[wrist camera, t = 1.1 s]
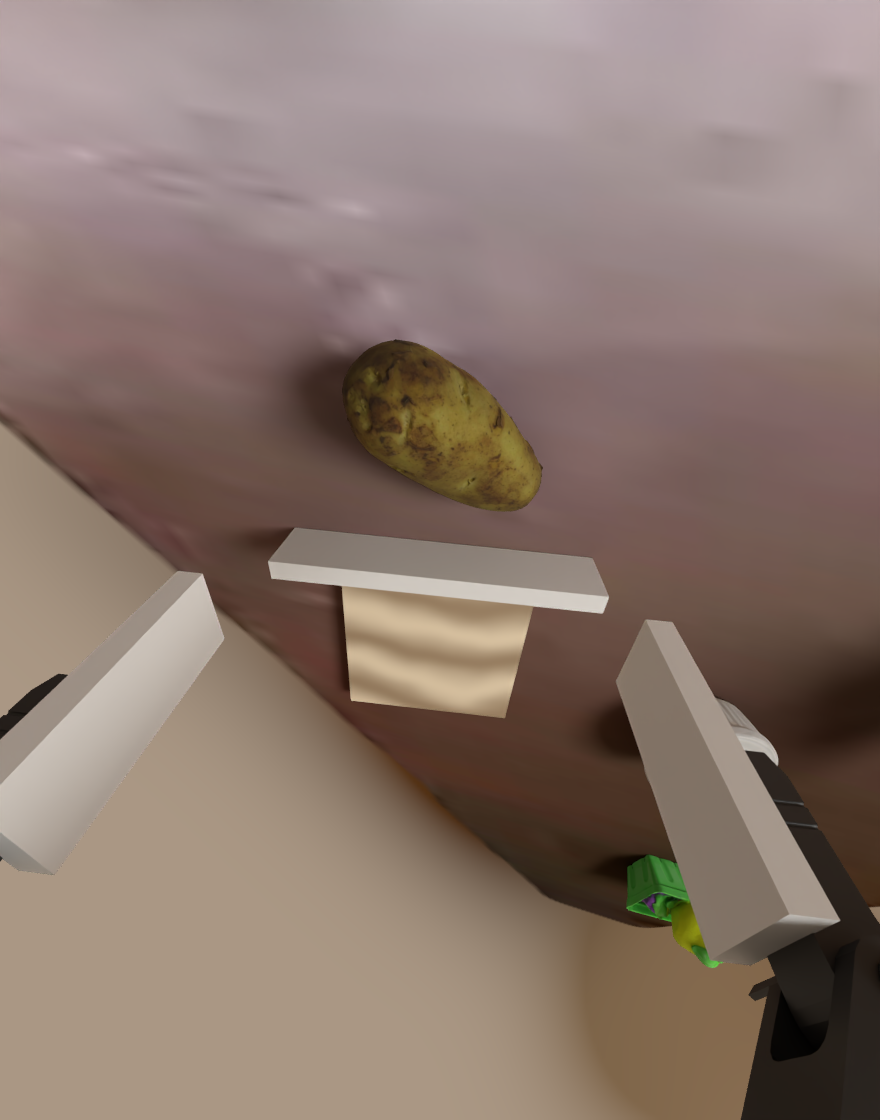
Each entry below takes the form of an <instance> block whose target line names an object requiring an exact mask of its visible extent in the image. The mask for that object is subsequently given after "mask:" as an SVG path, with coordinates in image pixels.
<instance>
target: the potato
mask: <svg viewBox="0 0 880 1120" xmlns="http://www.w3.org/2000/svg"><path fill="white" fill-rule="evenodd" d="M342 393H343V402H344V406H345V409H346V413H347V417H348V418H347V419H348V421H349V422H350V425H351V429H352V431H353V433H354V434H355V436H356V437H357V438H358V440H359V441H360V442H361V444H362V445H363V446H364V448H365V449H366V450H367V451H368V452H370V453H371V454H372V455H373V456H374V457H376V458H377V459H379V460H380V461H382V462H384V463H386V464H387V465H388V466H390V467H392V468H393V469H395V470H397V471H398V472H400V473H401V474H403V475H405V476H406V477H408V478H410V479H412V480H413V481H416V482H418V483H420V484H422V485H424V486H426V487H428V488H429V489H431V490H433V491H435V492H437V493H439V494H442V495H444V496H446V497H448V498H450V499H452V500H455V501H458V502H460V503H463V504H466V505H469V506H473V507H476V508H481V509H485V510H492V511H515V510H518V509H521V508H523V507H525V506H526V505H528V503H529V502H530V501H531V500H532V499H533V497H534V496H535V495H536V493H537V492H538V489H539V487H540V483H541V477H542V473H541V472H542V469H543V467H542V466H541V464H540V463H538V460H537V458H536V456H535V455H534V451H533V449H532V447H531V446H530V444H529V443H528V442H527V441H526V440H525V439H524V438H523V436H522V435H521V433H520V432H519V430H518V428H517V426H516V425H515V423H514V422H513V420H512V418H511V417H509V415H508V414H507V413H506V412H505V410H504V409H503V408H502V407H501V406H500V404H499V403H498V402H497V400H496V399H495V398H494V397H493V396H492V395H491V394H490V393H489V392H488V391H487V389H486V388H485V387H484V386H483V385H482V384H481V383H480V382H479V381H478V380H477V379H475V378H474V377H473V376H472V375H470V374H469V373H467V372H466V371H464V370H463V369H461V368H459V367H457V366H455V365H454V364H452V363H451V362H449V361H448V360H446V359H444V358H443V357H441V356H440V355H439V354H437V353H436V352H434V351H432V350H430V349H428V348H427V347H425V346H422V345H420V344H417V343H413V342H409V341H402V340H394V341H387V342H383V343H380V344H377V345H375V346H373V347H371V348H369V349H368V350H367V351H365V352H364V353H363V354H362V355H361V356H360V357H359V358H358V359H357V360H356V361H355V362H354V363H353V364H352V366H351V367H350V368H349V370H348V372H347V374H346V376H345V379H344V383H343V389H342Z"/></svg>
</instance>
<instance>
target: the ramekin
mask: <svg viewBox="0 0 880 1120" xmlns="http://www.w3.org/2000/svg"><path fill="white" fill-rule="evenodd" d="M715 699H716V701H717V702H718V704H719V706H720V708H721V709H722V711H723V713H724V715H725V717H726V718H727V720H728V722H729V724H730V725H731V727H732V729H733V731H734V733H735V734H736V736H737V738H738V740H739V741H740V743H741V745H742V747H743V749H744V750H747V751H756V752H764V753H765V754H766V755H767V756H768V757H769V758H770V759H771V760H772V761H773V762H774V763H775V764H776V765H777V766H778V756H777V753H776V751H775V749H774V748H773V746H772V744H771V743H770V742H769V741H768V740H767V739H766V738H765V737H764V736H763V735H761V734H760V733H759V732H758V731H757V729H756V728H755V727H754V726H753V725H752V724H751V723H750V721H749V720H748V719H747V718H746V717H745V716H744V715H743V714H742V712H741V711H740V710H739V709H738V708H736V707H735V706H734V705H732V704H730V703H729V702H726V701H724V700H721V699H718V698H715ZM644 769H645V766H644ZM645 773H646V776H647V779H648V781H649V778H648V775H647V772H646V769H645ZM649 783H650V781H649Z"/></svg>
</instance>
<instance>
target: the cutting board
mask: <svg viewBox="0 0 880 1120" xmlns="http://www.w3.org/2000/svg"><path fill="white" fill-rule="evenodd" d="M342 596H343V608H344V620H345V633H346V645H347V657H348V670H349V682H350V694H351V700H352V701H360V702H369V703H378V704H387V705H395V706H404V707H413V708H422V709H430V710H439V711H448V712H457V713H465V714H474V715H483V716H492V717H500V718H505V715H506V711H507V707H508V703H509V699H510V695H511V691H512V687H513V684H514V680H515V676H516V672H517V668H518V664H519V660H520V656H521V652H522V648H523V644H524V641H525V637H526V633H527V629H528V625H529V621H530V617H531V613H532V609H533V606H527V605H518V604H509V603H499V602H490V601H480V600H471V599H461V598H452V597H442V596H433V595H424V594H414V593H405V592H395V591H386V590H376V589H367V588H357V587H348V586H342Z"/></svg>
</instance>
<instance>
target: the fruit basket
mask: <svg viewBox="0 0 880 1120" xmlns="http://www.w3.org/2000/svg"><path fill="white" fill-rule="evenodd" d="M627 879H628V899H627V909H628V910H630V911H634V912H637V913H641V914H645V915H648V916H652V917H656V918H659V919H660V920H662V919H663V920H667V921H671V922H672V929H673V937H674V938H675V940H676V941H677V943H678V944H679V945H680V946H682V947H683V948H685V949H687V950H688V951H689V952H691V953H693V954H694V955H696V956H697V957H698V959H699V960H700V961H701V962H702V963H703V964H704V965H706V966H707V967H710V968H714V967H717V966H718V964H719V963H723V962H719V961H712V960H710V959H709V956H708V953H707V950H706V947H705V944H704V941H703V938H702V935H701V932H700V929H699V926H698V923H697V920H696V917H695V914H694V911H693V908H692V905H691V902H690V899H689V896H688V893H687V890H686V887H685V885H684V882H683V879H682V876H681V873H680V870H679V867H678V864H677V863H673V862H671V861H669V860H666V859H661V858H658V857H655V856H652V855H646V856H645V858H641V859H639V860H638V861H636V862H634V863H633V864H632V865H630V866H628V867H627Z"/></svg>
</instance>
